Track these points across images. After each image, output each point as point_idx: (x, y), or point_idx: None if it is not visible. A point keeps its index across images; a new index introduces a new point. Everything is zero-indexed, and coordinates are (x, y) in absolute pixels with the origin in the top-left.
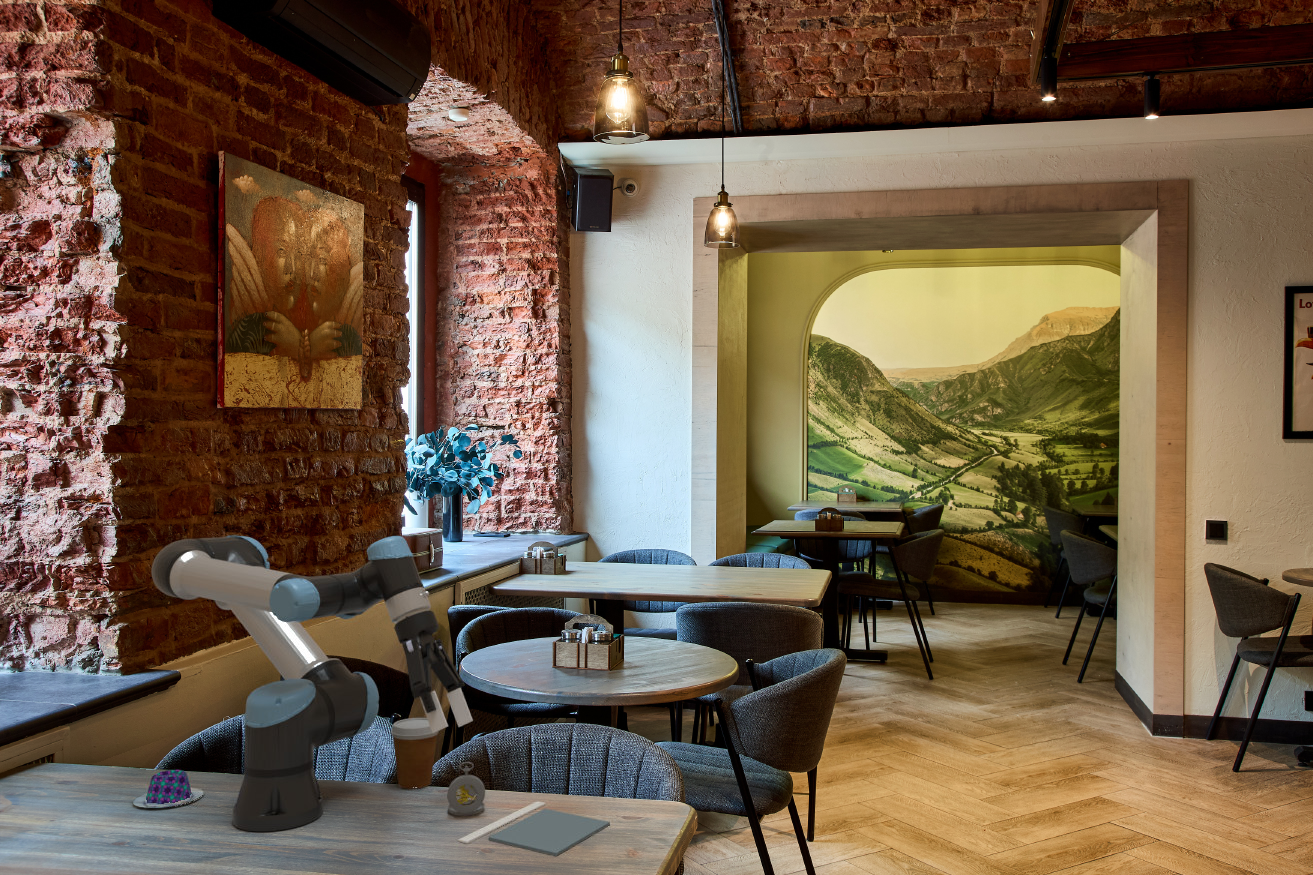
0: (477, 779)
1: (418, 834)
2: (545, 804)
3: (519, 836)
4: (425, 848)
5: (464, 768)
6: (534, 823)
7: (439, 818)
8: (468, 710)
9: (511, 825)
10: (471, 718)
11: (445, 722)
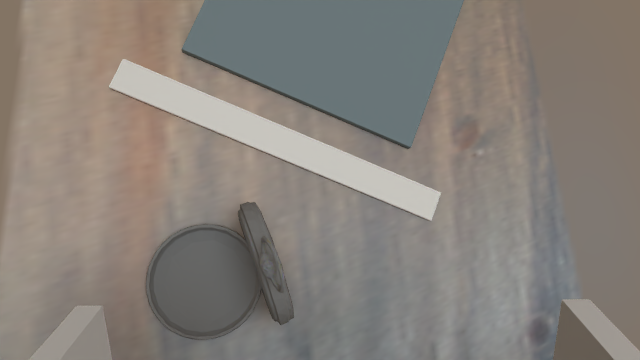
0: (264, 222)
1: (401, 344)
2: (127, 60)
3: (393, 72)
4: (483, 286)
5: (272, 272)
6: (302, 54)
7: (276, 337)
8: (48, 351)
9: (324, 110)
10: (80, 315)
11: (598, 313)
